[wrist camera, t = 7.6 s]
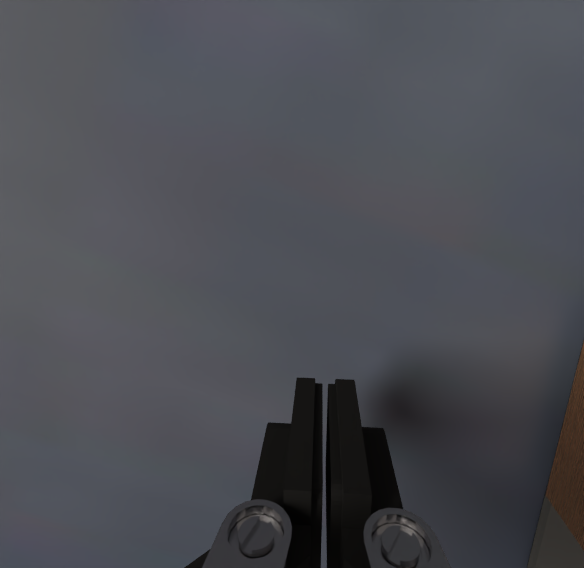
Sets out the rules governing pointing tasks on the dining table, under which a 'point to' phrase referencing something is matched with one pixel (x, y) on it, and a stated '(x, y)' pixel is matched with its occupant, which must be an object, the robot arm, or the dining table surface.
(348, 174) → the dining table surface
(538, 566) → the strip
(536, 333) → the dining table surface
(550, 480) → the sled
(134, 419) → the dining table surface
